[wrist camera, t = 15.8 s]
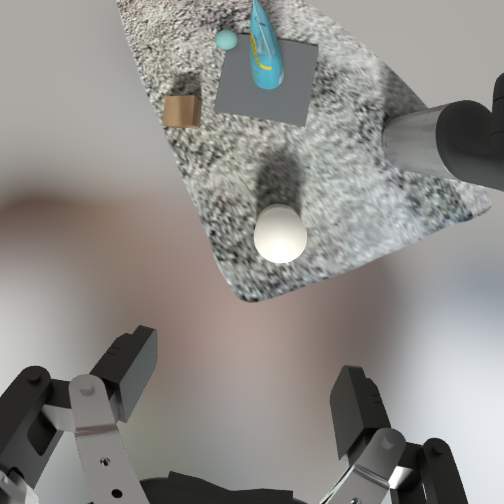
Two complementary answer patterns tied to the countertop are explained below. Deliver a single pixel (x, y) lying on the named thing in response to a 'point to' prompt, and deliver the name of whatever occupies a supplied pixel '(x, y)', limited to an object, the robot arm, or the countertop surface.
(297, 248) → the white rounded cylinder
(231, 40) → the teal ball
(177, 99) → the walnut block
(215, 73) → the countertop surface
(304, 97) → the plate
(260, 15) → the tube
